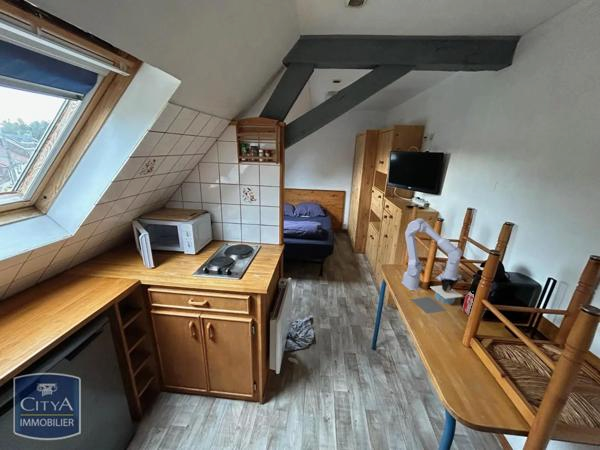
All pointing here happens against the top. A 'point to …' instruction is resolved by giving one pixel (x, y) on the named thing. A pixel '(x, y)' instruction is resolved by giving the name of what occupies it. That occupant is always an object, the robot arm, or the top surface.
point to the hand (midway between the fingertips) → (446, 289)
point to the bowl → (443, 300)
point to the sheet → (446, 292)
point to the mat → (428, 305)
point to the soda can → (468, 303)
